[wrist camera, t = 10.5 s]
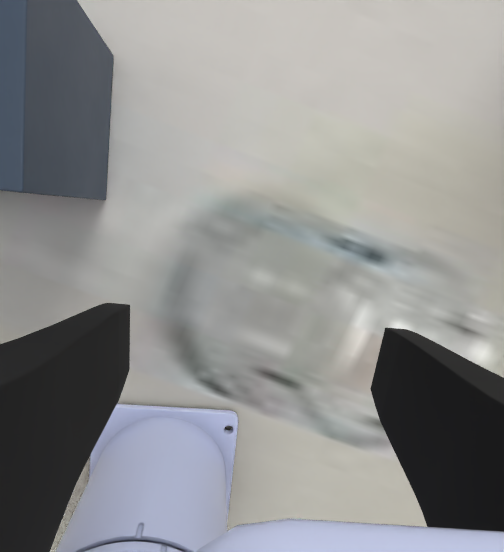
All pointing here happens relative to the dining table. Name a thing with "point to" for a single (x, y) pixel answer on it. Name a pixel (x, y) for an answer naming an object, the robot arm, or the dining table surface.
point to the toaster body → (53, 100)
